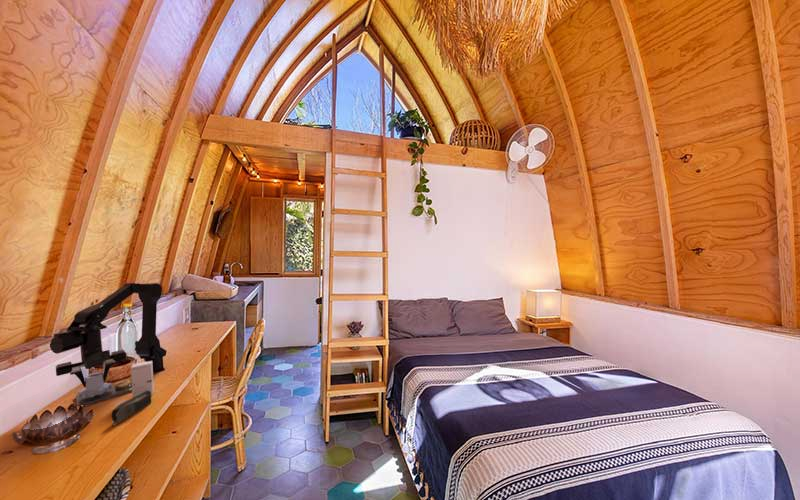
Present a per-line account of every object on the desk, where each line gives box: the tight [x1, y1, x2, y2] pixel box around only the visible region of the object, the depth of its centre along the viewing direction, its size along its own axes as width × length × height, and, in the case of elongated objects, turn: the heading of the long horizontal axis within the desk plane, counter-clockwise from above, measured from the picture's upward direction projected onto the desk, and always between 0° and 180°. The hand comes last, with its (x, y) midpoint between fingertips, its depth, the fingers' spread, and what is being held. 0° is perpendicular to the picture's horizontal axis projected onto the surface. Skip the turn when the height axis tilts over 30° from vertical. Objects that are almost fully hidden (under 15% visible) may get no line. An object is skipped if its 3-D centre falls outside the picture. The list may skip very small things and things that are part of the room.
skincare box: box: [130, 361, 155, 398], centre depth 117 cm, size 6×4×12 cm
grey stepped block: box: [77, 371, 113, 398], centre depth 118 cm, size 9×9×6 cm
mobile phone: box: [111, 391, 152, 428], centre depth 105 cm, size 5×3×15 cm
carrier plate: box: [75, 378, 132, 408], centre depth 121 cm, size 18×12×4 cm, turn 139°
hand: (94, 384), depth 118 cm, fingers closed on grey stepped block, 5 cm apart
